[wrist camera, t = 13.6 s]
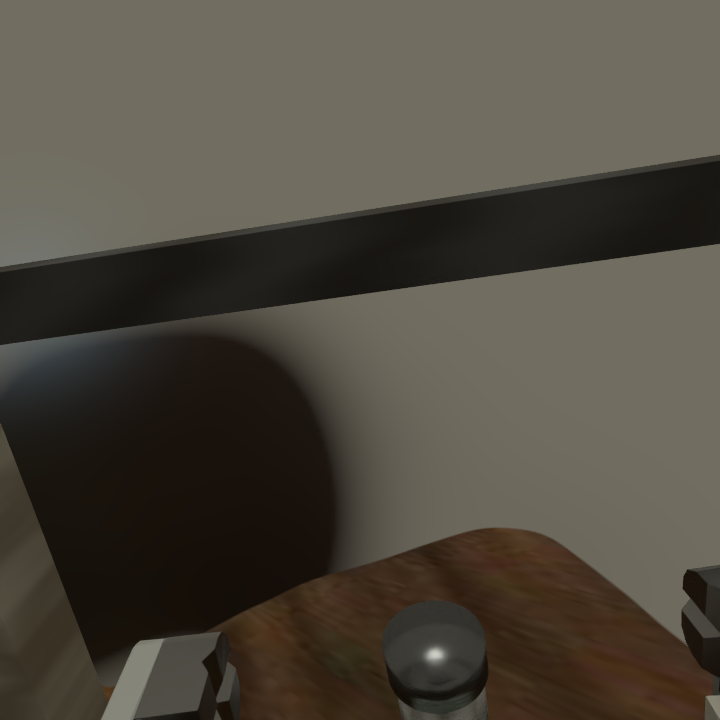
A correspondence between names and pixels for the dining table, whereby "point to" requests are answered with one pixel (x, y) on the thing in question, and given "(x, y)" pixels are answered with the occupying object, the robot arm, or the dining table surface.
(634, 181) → the arch
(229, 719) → the robot arm
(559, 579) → the dining table surface
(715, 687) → the breaker box
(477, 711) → the frosted spice bottle
